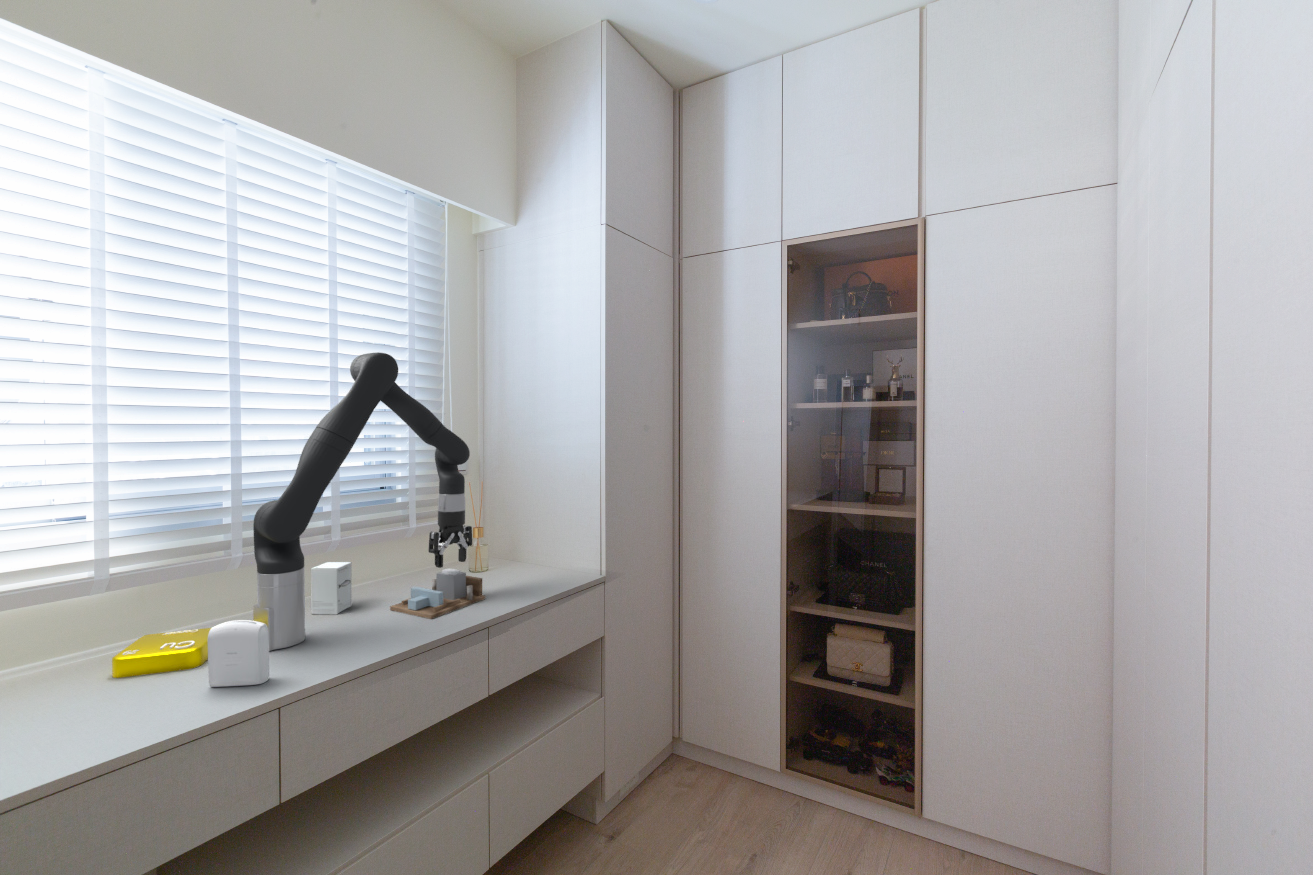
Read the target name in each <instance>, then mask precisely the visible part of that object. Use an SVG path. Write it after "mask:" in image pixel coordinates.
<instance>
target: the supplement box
mask: <svg viewBox="0 0 1313 875" xmlns="http://www.w3.org/2000/svg"><path fill="white" fill-rule="evenodd" d="M352 578H353V577H352V562H350V561H327V562H324V563H322V564H321V563H320V564H319V565H317V566H314V567H311V568H310V594H311V595H310V610H311V612H310V614H311V615H338V614H340V613H341V612H343V611H345V610H346V609H348V608H350V607H352V605H353V604H352V600H353V599H352V597H353V596H352V595H353V594H352V589H353V588H352V587H353V586H352Z"/></svg>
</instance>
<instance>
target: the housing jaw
mask: <svg viewBox="0 0 1313 875" xmlns="http://www.w3.org/2000/svg"><path fill="white" fill-rule="evenodd" d="M410 598H411V599H409V598H408V599H409V600H408V609H412V610H418V609H421V608H424V607H427V606H431V607H437V606H439V605H442V604H443V592H441V591H436V590H432V589H430V588H424V587H419V586H412V587H410Z"/></svg>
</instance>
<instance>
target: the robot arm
mask: <svg viewBox="0 0 1313 875" xmlns="http://www.w3.org/2000/svg"><path fill="white" fill-rule="evenodd" d="M398 366H399V365H398V362H397V360H396V359H395V358H394V357H393V356H392V355H391V354H388V353H385V352H380V351H379V352H368V353H363V354H360V355H358V356H357V357H355V358H354V359H353V360H352V362H351V363H350V368H349V371H350V376H351V378H352V379H353V381H354V382H353V384H352V386H351V387H350V390H349V391H348V392H347V393H346V395H345V396H344V397H343V398H342V399H341V400H340V401H339V402H338V403H337V404H336V405H335V406H333V407H332V408H331V409H330V411H328V413H326V414H325V415H324V416H323V418H321V420H320V421H319V422H318V424H317V425H316V427H314V429H313V431H312V433H311V434H310V435H309V437H308V439H307V440H306V443H305V445H304V446H303V449H302V451H301V454H300V457H299V460H298V464H297V467H296V470H295V473H294V475H293V477H292V479H291V481H290V482H289V484H288V486H287V487H286V489H285V490H284V491H283V492H282V494H281V496H280V497H279V498H278V499H275V500H270V501H267V502H265V503H264V504H262V505H261V506H260V507H259V508H258V509H257V511H256V513H255V515H254V518H253V526H252V527H253V550H254V551H253V552H254V554H253V555H254V560H255V563H256V581H257V582H256V584H257V586H256V588H257V589H256V592H257V594H256V595H257V596H256V599H257V601H256V602H257V603H256V604H254V605H253V608H252V612H253V613H252V614H253V615H252V618H253V619H252V621H257V622H261V623H264V624H266V625H267V627H268V637H269V652H270V651H271V652H272V651H273V650H274V651H275V650H279V649H285V648H289V647H293V646H297V645H298V644H300V643H302V642H304V640H305V639H306V613H305V612H306V611H305V610H306V606H305V601H306V600H305V598H306V595H305V593H306V591H305V587H306V586H305V582H306V581H305V577H306V576H305V575H306V574H305V555H304V553H303V550H302V547H301V542H300V541H301V540H300V537H301V535H303V533H304V532H305V531H306V529H307V528H308V526H309V524H310V521H311V519H312V517H313V515H314V513H315V510H316V509H317V507H318V504H319V501H320V499H321V498H322V497H323V495H324V493H325V491H326V489H327V488H328V486H329V485H330V483H331V482H332V480H333V479H334V477H335V476H336V474H337V473H338V471H339V469H340V467H342V464H343V463H344V461H345V460H346V458H348V455H349V454H350V453H351V450H352V449H353V447H354V445H355V444H356V443H357V440H358V439H359V437H360V435H361V433H362V432H363V429H364V428H365V426H366V425H367V423H368V421H369V419H370V417H371V416H372V414H373V412H375V409H376V408H377V406H378V405H379V403H380V402H381V403H383V404H384V405H385V406H386V407H388V409H390V410H391V411H392V412H393V413H395V415H396V416H397V417H399V418H400V420H401V421H403V422H404V423H405V424H406V425H407V426H408V427H409V428H410V429H411V431H413V432H414V433H415V434H416V435H417V436H418V437H419V438H420V439H421V440H422V442H424V443H425V444H427V445H428V446H432V447H434V448H435V451H434V461H435V466H436V470H437V471H436V472H437V476H438V479H439V480H438V481H439V483H438V498H437V499H438V500H437V525H438V527H439V529H438V531H430V532H429V538H428V539H429V540H428V553H430V554H433V555H434V565H435V567H436V568H439V569H440V568H443V566H444V552H445V550H446V549H447V548H448V547H449V545H453V544H456V545H457V547H458V555H457V556H458V557H457V558H458V562H461V563H464V562H466V560H467V551H468V550H467V549H468V548H469V547H470V546H473V527H472V526H471V525H465V524H466V496H465V487H466V486H465V484H466V483H465V482H466V481H465V480H466V479H465V476H464V474H462V473H461V472H460V471H459V467H458V466H459V465H463V464H466V463H467V461H468V460H469V459H470V454H471V451H470V448H469V446H468V445H467V443H466V442H465V441H464V440H463V439H462V438H461V437H460V436H458V435H457V434H455V433H454V432H453V431H452V430H450V429H449V428H447V427H446V426H445V425H444V423H442V421H440V420H439V418H438V417H437V416H436V415H435V414H434V413H433V412H432V411H431V410H429V408H427V407H426V406H425V405H424V404H422V403H421V402H419V401H418V400H417V399H415V398H414V397H412V396H411V395H409V394H408V393H407V392H406V391H404V389H402V388H401V387H400V386H399V385H398V383H396V381H397V378H398V376H399V367H398Z"/></svg>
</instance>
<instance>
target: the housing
mask: <svg viewBox="0 0 1313 875" xmlns="http://www.w3.org/2000/svg"><path fill="white" fill-rule="evenodd" d="M431 590H436V591H437V588H436V578H434V579H431ZM409 599H411V597H409V598H407V599H403V600H401V602H399V603H396V604H394V605H390V606H389V609H390V611H393V612H397V613H398V612H399V613H403V614H407V615H411V616H417V617H420V618H425V619H429V620H432V619H435V618H438V617H441V616H443V615H447V614H448V613H451V612H454V611H457V610H459V609H462V608H465V607H467V606H470V605H472V604H473V605H474V604H476V603H478V602H480V601H483V600H485V599H486V595H485V594H484V595H483V577H477V576H471V575H466V597H463V598H460V599H456V600H449V599H444V598H443V604H442V605H439V606H437V607H431V606H427V607H424V608H421V609H418V610H412V609H408V600H409Z"/></svg>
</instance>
